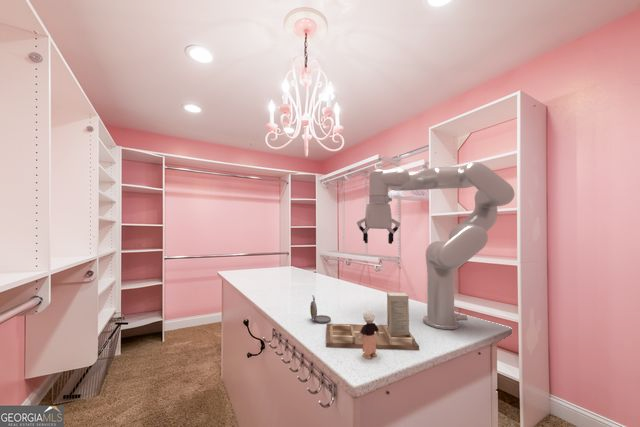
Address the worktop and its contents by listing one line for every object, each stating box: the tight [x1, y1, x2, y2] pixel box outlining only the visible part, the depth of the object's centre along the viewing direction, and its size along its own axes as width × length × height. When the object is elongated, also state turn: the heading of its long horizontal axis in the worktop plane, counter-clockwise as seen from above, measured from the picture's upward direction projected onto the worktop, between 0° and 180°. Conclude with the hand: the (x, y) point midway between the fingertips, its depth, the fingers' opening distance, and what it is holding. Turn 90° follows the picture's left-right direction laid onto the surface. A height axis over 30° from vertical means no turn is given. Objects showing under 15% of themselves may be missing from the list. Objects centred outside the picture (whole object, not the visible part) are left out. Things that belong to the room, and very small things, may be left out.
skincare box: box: [386, 292, 410, 335], centre depth 85 cm, size 6×4×12 cm
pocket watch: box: [309, 294, 332, 324], centre depth 103 cm, size 8×8×10 cm
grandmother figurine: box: [359, 309, 380, 360], centre depth 75 cm, size 8×4×13 cm, turn 133°
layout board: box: [325, 323, 420, 351], centre depth 88 cm, size 28×16×6 cm, turn 88°
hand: (378, 243), depth 105 cm, fingers open, 9 cm apart
